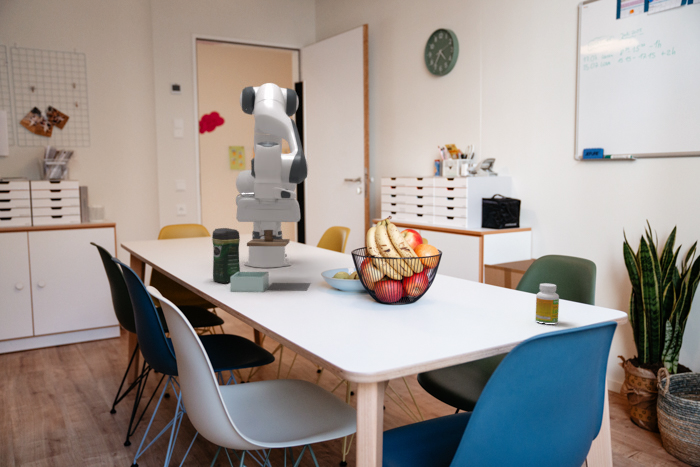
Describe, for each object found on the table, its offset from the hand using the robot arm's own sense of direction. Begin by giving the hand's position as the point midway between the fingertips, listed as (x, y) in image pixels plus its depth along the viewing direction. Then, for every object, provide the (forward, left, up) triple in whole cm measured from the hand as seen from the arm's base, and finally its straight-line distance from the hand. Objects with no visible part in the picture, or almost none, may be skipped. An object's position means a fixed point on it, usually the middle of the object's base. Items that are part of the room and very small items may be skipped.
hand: (268, 236), depth 184 cm
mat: (-2, +6, -17) cm, 18 cm away
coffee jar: (-12, -17, -18) cm, 27 cm away
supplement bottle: (+39, +77, -18) cm, 88 cm away
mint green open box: (+2, -6, -17) cm, 18 cm away
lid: (0, 0, -3) cm, 3 cm away
